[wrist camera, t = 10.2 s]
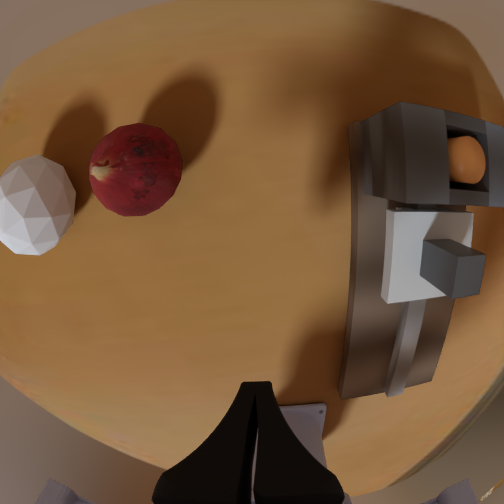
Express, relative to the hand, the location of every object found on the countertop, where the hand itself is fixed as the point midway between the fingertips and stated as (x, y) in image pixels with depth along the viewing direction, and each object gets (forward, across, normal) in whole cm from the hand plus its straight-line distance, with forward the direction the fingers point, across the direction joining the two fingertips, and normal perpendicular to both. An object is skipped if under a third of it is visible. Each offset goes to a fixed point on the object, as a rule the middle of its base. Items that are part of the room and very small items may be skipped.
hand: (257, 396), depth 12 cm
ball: (+10, +17, -10) cm, 22 cm away
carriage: (+8, -12, -5) cm, 15 cm away
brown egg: (+6, -12, -11) cm, 17 cm away
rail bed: (+10, -12, -2) cm, 16 cm away
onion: (+10, +7, -11) cm, 16 cm away
